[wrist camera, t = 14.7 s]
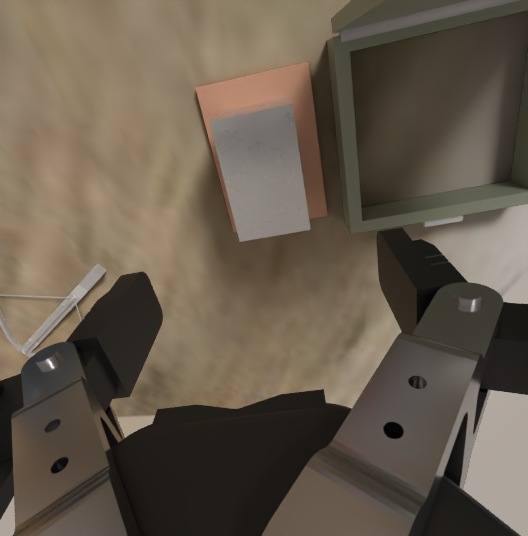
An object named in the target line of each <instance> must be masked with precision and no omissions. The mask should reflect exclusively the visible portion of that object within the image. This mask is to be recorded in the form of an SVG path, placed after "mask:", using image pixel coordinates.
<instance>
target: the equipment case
mask: <svg viewBox="0 0 528 536" xmlns="http://www.w3.org/2000/svg"><path fill="white" fill-rule="evenodd" d="M523 11H528V0H351V1H350V2H349V3H348V4H347V5H346V6H345V7H344V8H343V9H341V10H340V11H339V12H338V13H337V14H336V15H335V16H334V17H333V18H332V19H331V23H332V34H334V33H338V32H339V36H337V37H333V38H331V39H329V40H327V50H328V60H329V70H330V80H331V90H332V100H333V110H334V120H335V130H336V140H337V150H338V160H339V170H340V180H341V190H342V200H343V210H344V220H345V223H346V225H347V227H348V229H349V231H350V233H351V234H357V233H362V232H368V231H374V230H380V229H385V228H391V227H397V226H403V225H408V224H414V223H421V224H422V225H423V226H424V227H429V226H435V225H441V224H447V223H453V222H459V221H463V215H466V214H472V213H478V212H483V211H489V210H495V209H501V208H506V207H512V206H518V205H524V204H528V52H527V59H526V67H525V74H524V82H523V89H522V97H521V104H520V112H519V120H518V127H517V135H516V142H515V150H514V157H513V165H512V172H511V180H510V181H505V182H499V183H494V184H488V185H483V186H477V187H471V188H466V189H460V190H455V191H449V192H444V193H438V194H433V195H427V196H422V197H416V198H411V199H405V200H400V201H394V202H389V203H383V204H378V205H372V206H367V207H361V196H360V182H359V169H358V155H357V142H356V128H355V114H354V101H353V87H352V74H351V60H350V52H351V51H356V50H360V49H364V48H368V47H373V46H377V45H381V44H386V43H390V42H394V41H399V40H403V39H407V38H411V37H416V36H420V35H424V34H429V33H433V32H437V31H442V30H446V29H450V28H454V27H459V26H463V25H467V24H472V23H476V22H480V21H485V20H489V19H493V18H497V17H502V16H506V15H510V14H515V13H519V12H523Z"/></svg>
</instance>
